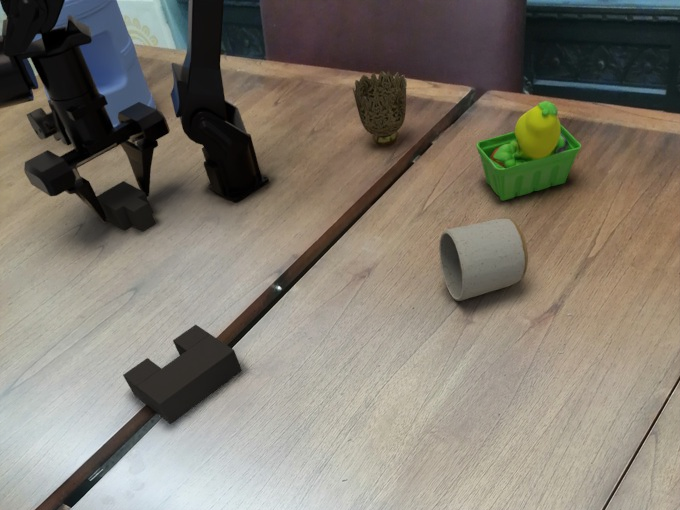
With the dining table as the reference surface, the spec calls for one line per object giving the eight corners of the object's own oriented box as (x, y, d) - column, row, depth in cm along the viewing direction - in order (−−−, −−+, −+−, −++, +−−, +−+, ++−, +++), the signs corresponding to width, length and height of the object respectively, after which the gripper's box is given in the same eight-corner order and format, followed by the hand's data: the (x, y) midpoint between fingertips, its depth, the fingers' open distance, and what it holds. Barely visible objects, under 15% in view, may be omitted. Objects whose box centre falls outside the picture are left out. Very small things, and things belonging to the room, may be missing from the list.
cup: (405, 155, 98) (400, 95, 92) (355, 155, 100) (347, 96, 93) (415, 128, 102) (410, 69, 96) (366, 128, 104) (359, 70, 97)
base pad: (204, 344, 80) (195, 323, 77) (242, 370, 76) (234, 349, 74) (133, 394, 76) (122, 374, 74) (170, 424, 73) (159, 404, 70)
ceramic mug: (530, 293, 78) (534, 231, 72) (463, 314, 77) (461, 254, 71) (492, 245, 84) (492, 184, 78) (429, 264, 84) (425, 204, 77)
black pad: (132, 200, 100) (123, 180, 97) (163, 218, 96) (155, 198, 93) (103, 217, 98) (93, 197, 95) (134, 236, 94) (125, 216, 92)
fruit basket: (552, 157, 94) (560, 66, 84) (583, 189, 89) (595, 96, 79) (474, 180, 93) (473, 91, 83) (501, 214, 88) (503, 123, 78)
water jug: (86, 102, 120) (-6, -108, 97) (170, 97, 117) (96, -120, 94) (49, 149, 111) (-61, -68, 89) (139, 146, 109) (49, -80, 86)
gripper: (100, 44, 91) (147, 161, 104) (-27, 105, 84) (40, 222, 97) (148, 63, 86) (190, 183, 98) (16, 130, 79) (80, 249, 92)
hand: (125, 208), depth 97 cm, fingers open, 7 cm apart
